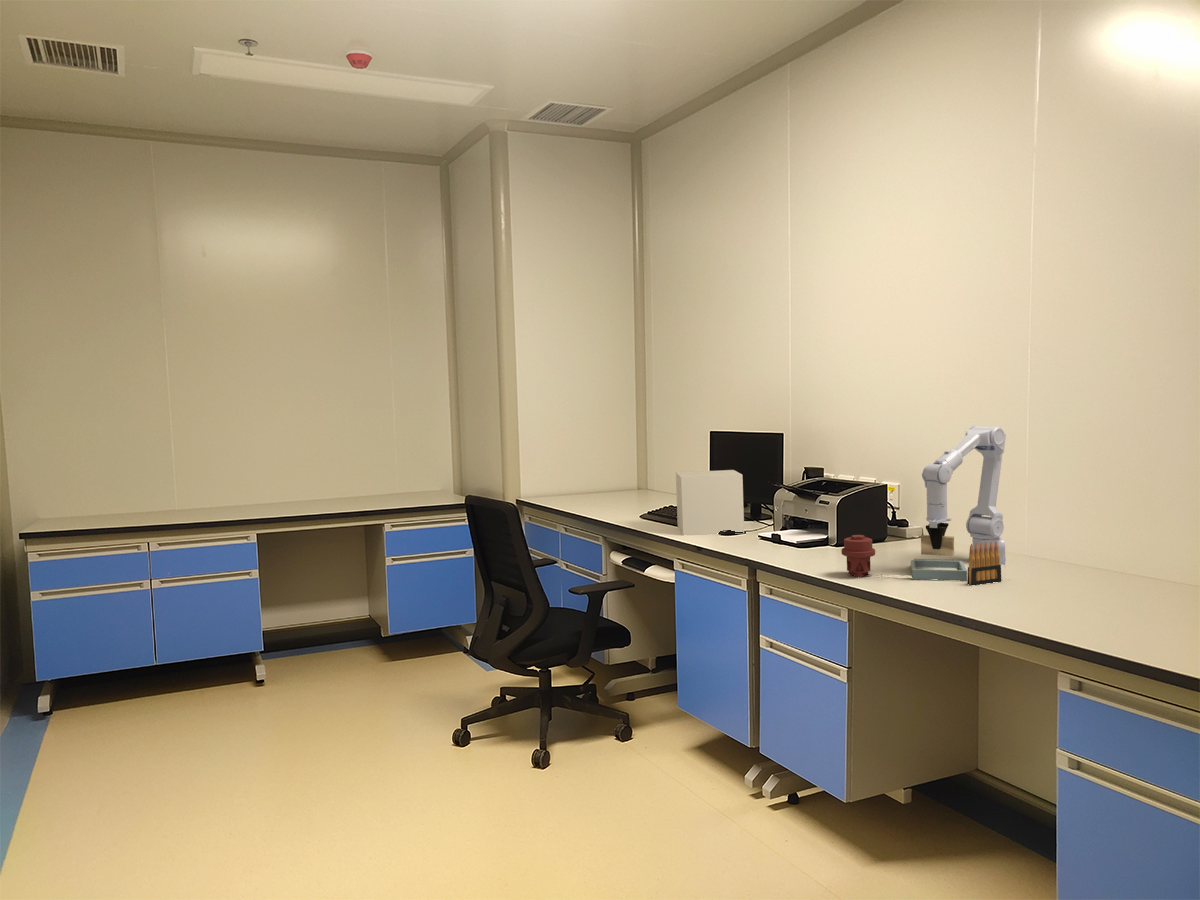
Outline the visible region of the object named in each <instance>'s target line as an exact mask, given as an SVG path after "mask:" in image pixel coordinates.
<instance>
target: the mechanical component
mask: <svg viewBox="0 0 1200 900" xmlns="http://www.w3.org/2000/svg"><path fill="white" fill-rule="evenodd" d="M843 545H844V546H843V547H842V548H841V550H840V551H841V555H842V556H844V557H846V571H847V572H848V575H849V574H851V575H850V576H853V575H855V576H854V577H856V576H857V577H856V578H858V577H861V578H863V577H864V576H867V575H866V574H868V575H869V572H871V568H872V567H871V558H872V557H874V556H876V549H875V548H873V539H872V538H870V537H866V536H865V535H864V534H853V535H850V536H849V537H846V538H844V539H843ZM863 575H864V576H863Z"/></svg>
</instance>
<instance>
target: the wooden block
mask: <svg viewBox="0 0 1200 900" xmlns="http://www.w3.org/2000/svg"><path fill="white" fill-rule="evenodd" d="M920 554H921V555H923V556H925V555H926V556H940V557H941V556H942V557H944V556H945V557H954V556H955V536H950V535H949V536H948V535H945V536H943V537H942V543H941V548H940V549H933V548H932V544H931V540H930V536H929V534H923V535H921V536H920Z"/></svg>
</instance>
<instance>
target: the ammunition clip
mask: <svg viewBox="0 0 1200 900" xmlns="http://www.w3.org/2000/svg"><path fill="white" fill-rule="evenodd" d="M968 555H969V556H968V567H967V581H966V583H967V585H968V584H969V585H968V586H971V585H975V586H981V585H980V584H982V585H987V584H986V583H990V584H994V583H993V582H998V583H1002V582H1001V581H1002V564H1000V556H999V547H998V542H997V541H996V542H995V546H994V547H993V543H992V542H991V543H990V547H988V543H987V542H986V543H985V547H983V544H982V543H981V544H980V549H979V547H978V544H977V543H976V545H975V550H974V548H973V543H971V544H970V545H969V553H968Z"/></svg>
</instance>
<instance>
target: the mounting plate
mask: <svg viewBox="0 0 1200 900" xmlns="http://www.w3.org/2000/svg"><path fill="white" fill-rule="evenodd" d="M913 560H941V561H955V560H954V559H941V558H940V559H939V558H938V559H937V558H936V559H935V558H914V559H913Z"/></svg>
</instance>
